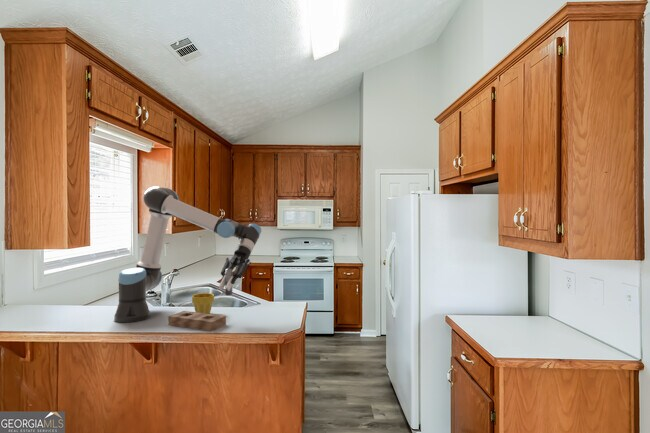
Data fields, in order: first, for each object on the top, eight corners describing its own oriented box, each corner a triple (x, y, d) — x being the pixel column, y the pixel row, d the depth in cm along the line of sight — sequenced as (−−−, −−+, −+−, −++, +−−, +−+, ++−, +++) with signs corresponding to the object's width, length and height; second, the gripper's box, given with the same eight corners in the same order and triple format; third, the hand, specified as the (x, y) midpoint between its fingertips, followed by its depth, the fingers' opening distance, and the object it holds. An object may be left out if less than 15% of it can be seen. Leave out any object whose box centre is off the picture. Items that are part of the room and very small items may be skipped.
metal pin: (223, 294, 173) (224, 269, 173) (228, 293, 176) (228, 268, 176) (229, 295, 172) (229, 269, 172) (233, 294, 175) (233, 268, 175)
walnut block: (168, 324, 168) (168, 316, 168) (184, 319, 177) (184, 310, 177) (211, 331, 159) (211, 321, 159) (225, 324, 168) (226, 315, 168)
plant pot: (207, 318, 179) (207, 297, 179) (187, 316, 181) (187, 296, 181) (217, 312, 189) (217, 293, 189) (199, 311, 191) (199, 292, 191)
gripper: (261, 255, 185) (242, 294, 170) (233, 253, 191) (212, 292, 175) (255, 245, 180) (235, 285, 165) (227, 244, 186) (205, 282, 170)
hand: (223, 288), depth 170 cm, fingers closed on metal pin, 3 cm apart
